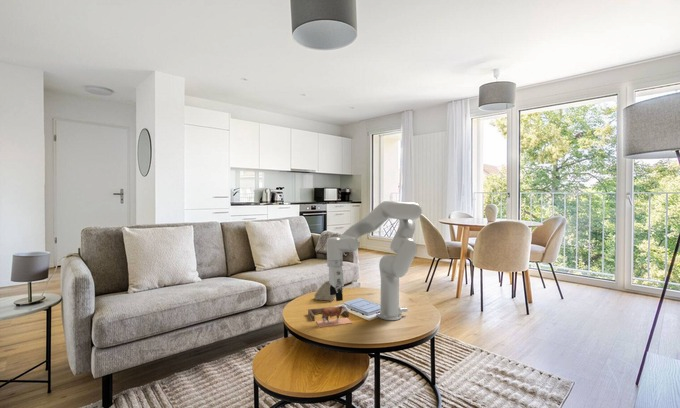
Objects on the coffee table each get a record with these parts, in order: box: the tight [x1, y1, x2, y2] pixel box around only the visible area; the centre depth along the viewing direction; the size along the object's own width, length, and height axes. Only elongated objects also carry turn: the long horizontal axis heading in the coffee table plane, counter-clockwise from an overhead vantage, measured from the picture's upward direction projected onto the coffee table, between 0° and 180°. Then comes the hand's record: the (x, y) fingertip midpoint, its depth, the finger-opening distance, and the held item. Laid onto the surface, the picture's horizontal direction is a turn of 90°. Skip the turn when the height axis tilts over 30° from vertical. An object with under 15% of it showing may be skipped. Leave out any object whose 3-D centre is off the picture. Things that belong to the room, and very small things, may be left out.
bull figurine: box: [321, 303, 349, 324], centre depth 157 cm, size 4×13×8 cm, turn 108°
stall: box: [307, 306, 350, 322], centre depth 166 cm, size 19×10×2 cm, turn 108°
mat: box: [316, 317, 353, 328], centre depth 156 cm, size 16×7×1 cm, turn 108°
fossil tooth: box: [314, 280, 338, 302], centre depth 193 cm, size 12×6×15 cm
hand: (336, 297), depth 157 cm, fingers open, 9 cm apart
